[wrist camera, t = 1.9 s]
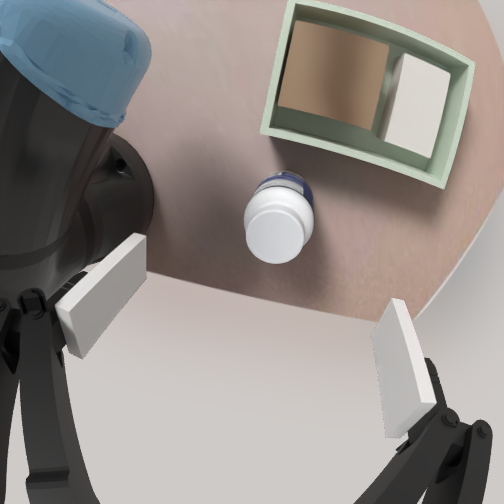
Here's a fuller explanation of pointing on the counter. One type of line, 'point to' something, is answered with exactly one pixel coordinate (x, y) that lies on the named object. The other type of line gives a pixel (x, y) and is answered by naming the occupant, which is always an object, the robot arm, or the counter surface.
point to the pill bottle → (279, 217)
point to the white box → (414, 105)
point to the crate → (363, 140)
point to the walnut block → (333, 74)
